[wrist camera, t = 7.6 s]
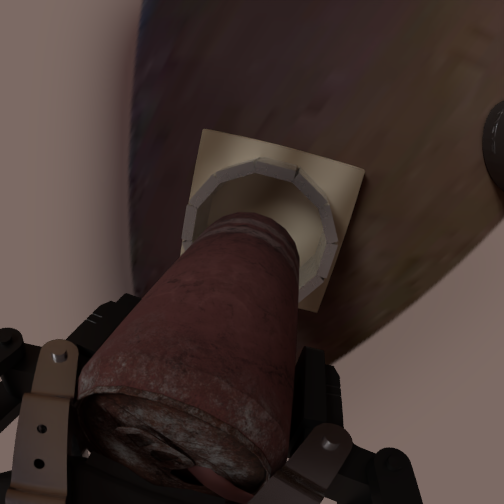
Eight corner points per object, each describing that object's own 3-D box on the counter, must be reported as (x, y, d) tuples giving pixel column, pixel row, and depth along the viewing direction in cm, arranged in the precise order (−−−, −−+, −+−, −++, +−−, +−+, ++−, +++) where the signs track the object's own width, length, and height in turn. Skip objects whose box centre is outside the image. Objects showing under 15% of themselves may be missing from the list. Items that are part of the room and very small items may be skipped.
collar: (347, 179, 24) (356, 188, 20) (309, 299, 28) (309, 324, 24) (213, 145, 24) (197, 147, 21) (190, 266, 29) (174, 287, 25)
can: (282, 318, 21) (249, 530, 8) (189, 283, 21) (70, 461, 8) (320, 233, 18) (344, 451, 5) (215, 194, 18) (47, 336, 5)
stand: (362, 168, 24) (364, 170, 23) (316, 306, 29) (316, 312, 28) (207, 129, 25) (202, 129, 24) (182, 268, 30) (177, 274, 29)
